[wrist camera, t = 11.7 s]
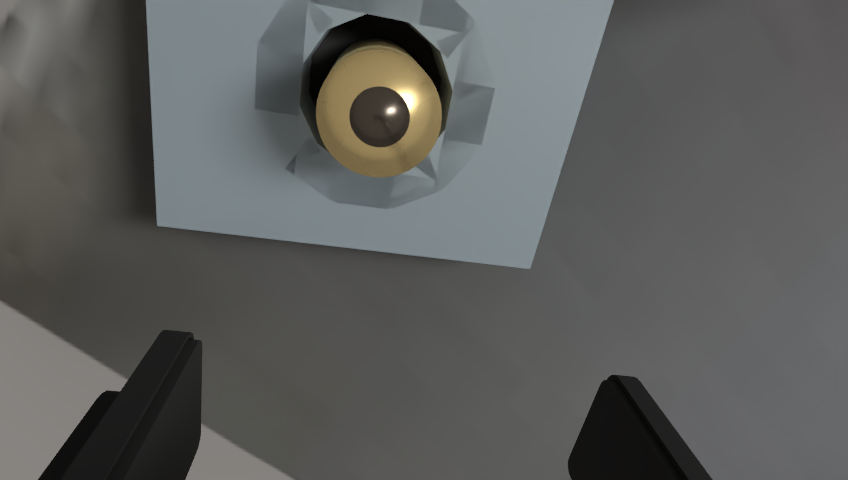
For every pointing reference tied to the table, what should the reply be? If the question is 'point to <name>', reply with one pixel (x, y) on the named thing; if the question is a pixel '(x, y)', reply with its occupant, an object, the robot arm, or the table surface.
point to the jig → (314, 165)
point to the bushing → (378, 110)
